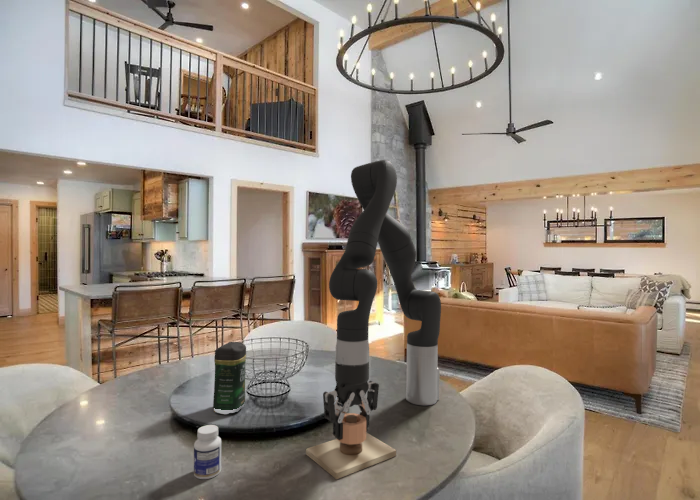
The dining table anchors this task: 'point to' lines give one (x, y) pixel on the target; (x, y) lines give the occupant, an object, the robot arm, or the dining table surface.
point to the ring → (354, 430)
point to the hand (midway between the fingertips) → (351, 433)
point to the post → (351, 448)
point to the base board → (349, 456)
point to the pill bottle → (207, 452)
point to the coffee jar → (229, 376)
